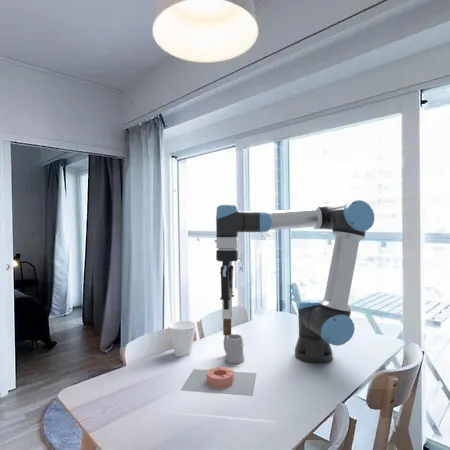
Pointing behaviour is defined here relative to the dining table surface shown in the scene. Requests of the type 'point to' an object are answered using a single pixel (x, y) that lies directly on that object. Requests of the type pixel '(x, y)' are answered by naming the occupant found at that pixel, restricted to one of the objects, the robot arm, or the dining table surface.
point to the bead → (220, 377)
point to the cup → (182, 337)
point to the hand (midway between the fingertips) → (227, 317)
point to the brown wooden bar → (227, 324)
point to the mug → (233, 348)
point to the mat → (240, 386)
